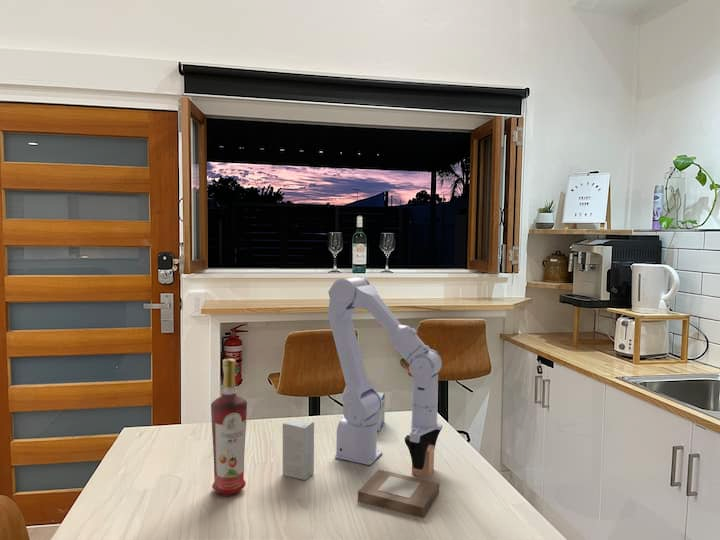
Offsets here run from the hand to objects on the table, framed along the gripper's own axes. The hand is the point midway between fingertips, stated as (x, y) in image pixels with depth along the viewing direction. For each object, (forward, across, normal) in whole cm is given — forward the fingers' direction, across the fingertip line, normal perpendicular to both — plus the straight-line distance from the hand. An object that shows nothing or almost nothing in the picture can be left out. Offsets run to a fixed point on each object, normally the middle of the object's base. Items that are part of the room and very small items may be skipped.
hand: (423, 461), depth 120 cm
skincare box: (+3, -14, +25) cm, 29 cm away
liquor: (+2, -27, +34) cm, 44 cm away
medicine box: (+3, +21, +21) cm, 30 cm away
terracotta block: (+2, 0, 0) cm, 3 cm away
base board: (+2, -13, +1) cm, 13 cm away
